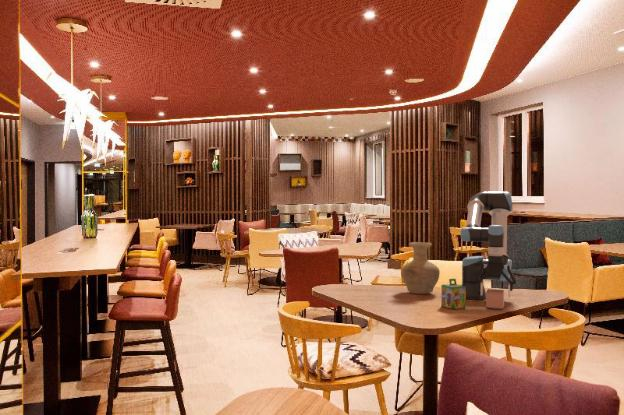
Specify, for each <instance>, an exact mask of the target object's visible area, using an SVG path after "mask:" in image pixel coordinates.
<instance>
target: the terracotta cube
mask: <svg viewBox="0 0 624 415" xmlns="http://www.w3.org/2000/svg"><path fill="white" fill-rule="evenodd" d="M485 291H486V298H485V299H486V300H485V302H486V304H485V305H486V306H485V307H486V308H488V307H493V308H502V309H504V307H505V290H504V289H496V288H495V289H494V288H488V289H487V290H485Z"/></svg>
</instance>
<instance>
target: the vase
mask: <svg viewBox="0 0 624 415" xmlns="http://www.w3.org/2000/svg"><path fill="white" fill-rule="evenodd" d="M408 244H409V246H410V247H411V248H412V250H413V257H412V258H413V259H412V260H411V261H409V262H407V263H405V264H403V266H402V267H401V270H400V272H401V273H400V274H401V278H402V279H401V280H402V281H403V283H404V284H405V286H406V289H407V291H408V292H409V293H412V294H416V295H427V294H431V293H433V291H434V287H435V286H436V285H437V283H438V281H439V280H440V273H441V272H440V268H439V267H438V266H437V265H436V264H435V263H432V262H430V261H429V260H428V249H429V248H430V247H432V245H433V244H432V243H431V242H424V241H423V242H422V241H421V242H420V241H416V242H415V241H413V242H409V243H408Z"/></svg>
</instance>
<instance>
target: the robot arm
mask: <svg viewBox="0 0 624 415" xmlns="http://www.w3.org/2000/svg"><path fill="white" fill-rule="evenodd" d="M467 211H468V212H467V220H466V224H465V227H464V226H463V227H461V229H460V239H461V240H460V241H463V242H478V243H479V242H482V243H483V242H484V243H485V242H486V243H488V245H487V246H488V247H487V254H488V255H487V258H484V256H482V255H475V256H474V255H473V256H467V257H464V258H463V259H462V263H461V267H462V268H461V270H462V272H461V275H462V276H461V285H462V286H466V300H484V299H486V291H487V290H486V289H485V285H484V280H488V281H489V280H491V281H499V282H500V281H506V282H508V287H507V288H508V290H507V291H508V296H507V297H508V299H510V298H511V292H512V291H514V288H513V286H514V285H516V284H517V283H518V282H517V279H516V278H515V276H514V274H513V272H512V266H513V261H512V259H510V256H509V255H508V253H507V250H508V249H507V248H508V247H507V245H508V216H510V214H511V212H513V211H514V210H513V199H512V194H511V192H510V191H503V190H501V191H480V192H477V193H476V194H474V195H472V197H470V199H469V200H468V203H467ZM483 212H489V215H490V216H491V225H489V226H488V227H481V224H482V215H483Z"/></svg>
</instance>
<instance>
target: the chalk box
mask: <svg viewBox="0 0 624 415" xmlns="http://www.w3.org/2000/svg"><path fill="white" fill-rule="evenodd" d="M448 282H449V283H447V284H441V285H440V286H441V297H440V298H441V304H440V305H441V307H442V308H447V309H449V310H450V309H451V310H459V309H460V310H461V309H466V307H467V306H466V300H467V299H466V286H462V284H457V279H456V278H449V279H448ZM452 282H453V283H452Z"/></svg>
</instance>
